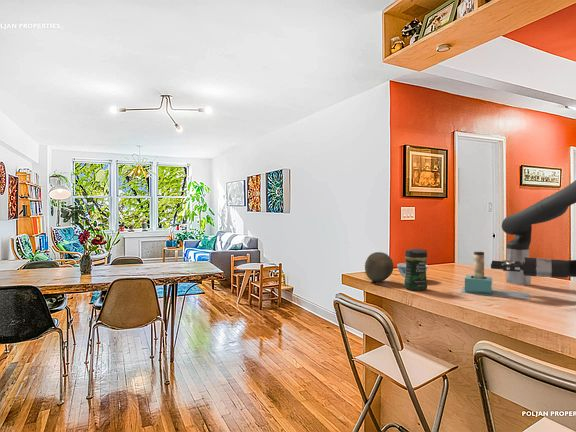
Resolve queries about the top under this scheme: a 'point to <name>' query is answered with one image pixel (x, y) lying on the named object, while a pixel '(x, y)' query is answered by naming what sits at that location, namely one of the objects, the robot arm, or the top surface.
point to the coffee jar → (415, 269)
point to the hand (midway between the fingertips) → (491, 264)
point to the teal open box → (478, 285)
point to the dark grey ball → (378, 266)
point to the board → (505, 294)
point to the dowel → (479, 265)
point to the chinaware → (404, 268)
